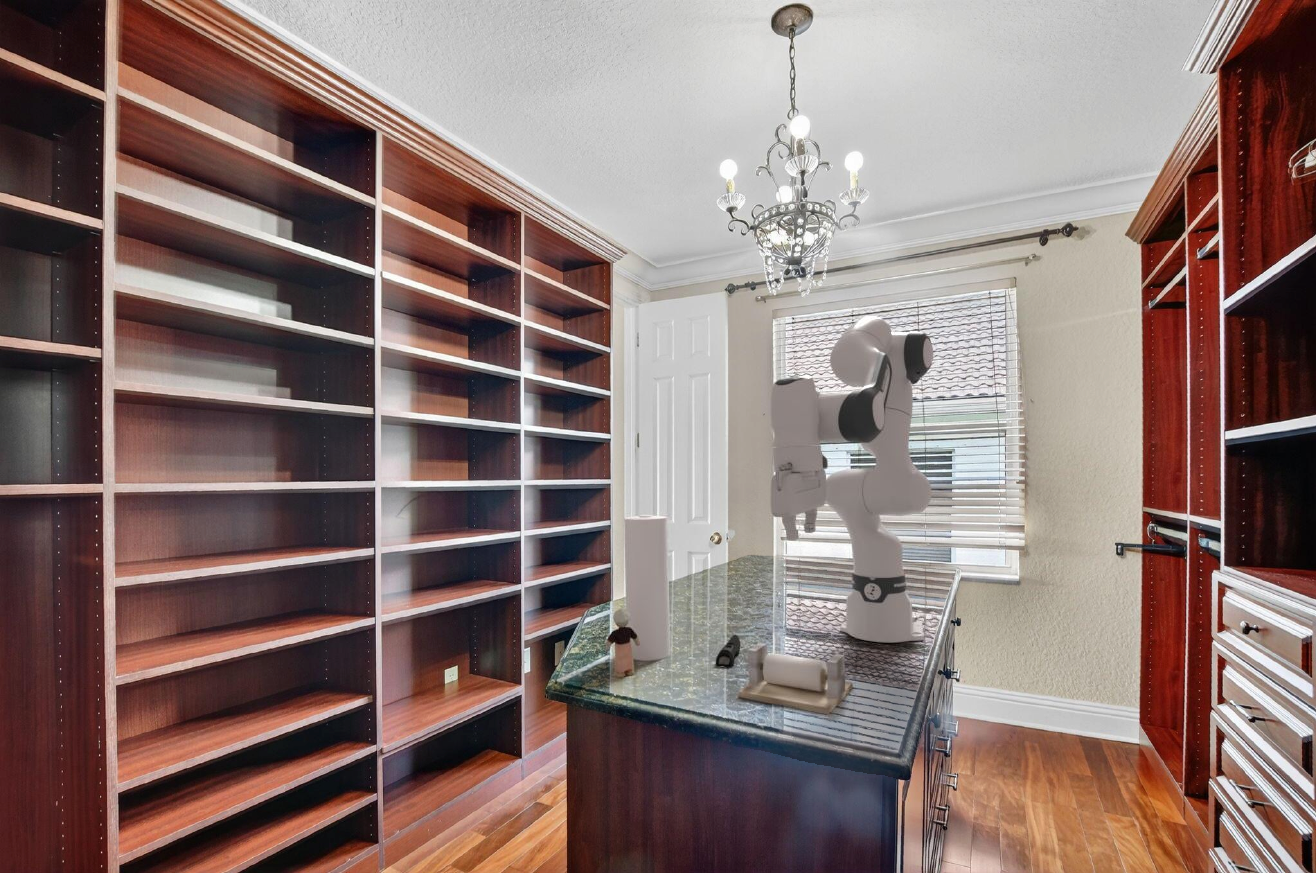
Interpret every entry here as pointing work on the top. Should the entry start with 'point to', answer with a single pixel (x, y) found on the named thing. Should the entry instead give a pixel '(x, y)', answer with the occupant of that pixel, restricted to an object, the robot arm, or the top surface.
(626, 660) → the grandmother figurine
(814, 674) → the paper roll
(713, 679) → the top surface
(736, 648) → the electric trimmer
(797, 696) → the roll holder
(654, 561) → the cylinder container
